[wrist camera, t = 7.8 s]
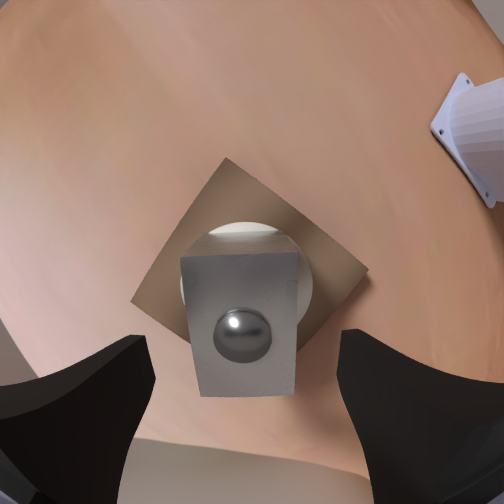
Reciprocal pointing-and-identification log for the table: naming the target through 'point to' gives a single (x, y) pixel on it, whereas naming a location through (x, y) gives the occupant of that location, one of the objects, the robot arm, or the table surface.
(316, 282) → the stand
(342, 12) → the table surface
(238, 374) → the housing
